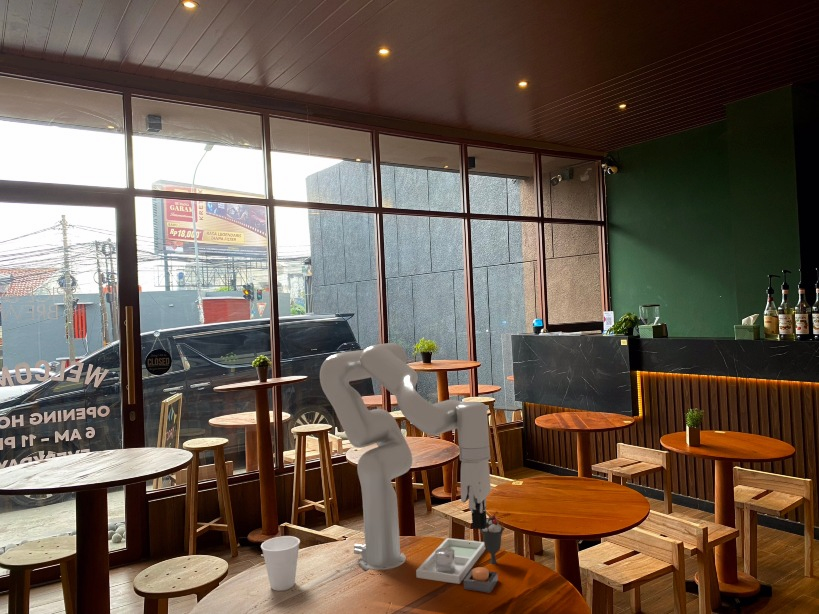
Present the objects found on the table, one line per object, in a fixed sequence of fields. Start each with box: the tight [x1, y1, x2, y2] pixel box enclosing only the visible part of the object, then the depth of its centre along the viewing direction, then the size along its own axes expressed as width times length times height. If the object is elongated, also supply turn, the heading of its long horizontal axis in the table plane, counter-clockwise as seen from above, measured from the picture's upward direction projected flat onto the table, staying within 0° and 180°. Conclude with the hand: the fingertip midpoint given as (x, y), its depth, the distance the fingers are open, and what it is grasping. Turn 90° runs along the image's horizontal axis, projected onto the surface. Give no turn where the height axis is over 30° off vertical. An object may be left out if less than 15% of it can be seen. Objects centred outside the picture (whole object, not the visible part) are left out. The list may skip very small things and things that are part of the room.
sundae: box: [478, 511, 506, 565], centre depth 157 cm, size 7×7×15 cm
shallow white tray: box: [415, 537, 486, 585], centre depth 159 cm, size 12×22×3 cm, turn 156°
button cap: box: [471, 566, 490, 582], centre depth 145 cm, size 4×4×2 cm
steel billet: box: [434, 548, 455, 574], centre depth 154 cm, size 5×5×5 cm
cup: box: [260, 535, 301, 592], centre depth 153 cm, size 10×10×11 cm
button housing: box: [463, 568, 499, 594], centre depth 145 cm, size 7×7×3 cm
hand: (479, 527), depth 145 cm, fingers closed
